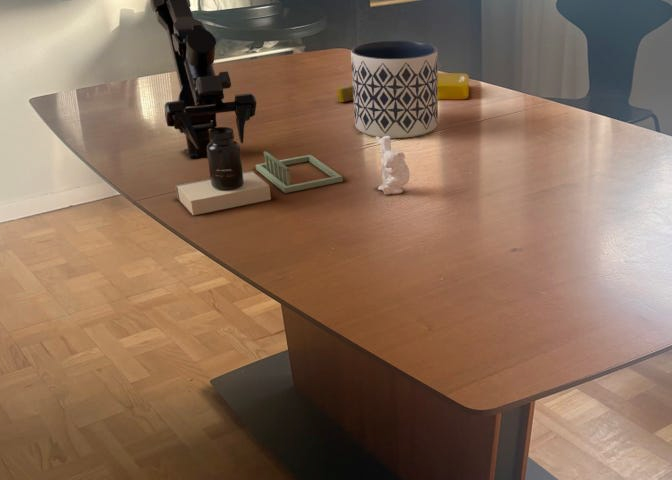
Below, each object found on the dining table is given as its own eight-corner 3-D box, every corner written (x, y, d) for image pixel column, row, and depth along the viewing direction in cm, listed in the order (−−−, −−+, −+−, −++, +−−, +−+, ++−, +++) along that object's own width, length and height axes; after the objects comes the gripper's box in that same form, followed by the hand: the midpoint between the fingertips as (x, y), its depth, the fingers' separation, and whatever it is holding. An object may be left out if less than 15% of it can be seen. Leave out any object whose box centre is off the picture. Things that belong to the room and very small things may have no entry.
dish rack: (255, 169, 196) (253, 150, 194) (310, 159, 202) (309, 140, 200) (284, 193, 183) (282, 173, 181) (342, 181, 189) (341, 161, 187)
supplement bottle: (222, 193, 174) (213, 137, 168) (205, 185, 178) (197, 129, 172) (250, 185, 178) (243, 130, 172) (234, 177, 182) (226, 123, 176)
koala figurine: (368, 189, 185) (365, 136, 179) (393, 183, 188) (391, 130, 182) (390, 200, 179) (388, 146, 173) (415, 193, 183) (414, 140, 176)
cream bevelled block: (177, 199, 180) (174, 185, 178) (254, 184, 188) (252, 170, 186) (192, 215, 172) (189, 201, 170) (271, 199, 180) (270, 185, 178)
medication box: (368, 95, 253) (367, 81, 252) (374, 95, 252) (373, 82, 250) (337, 101, 246) (335, 87, 244) (343, 102, 244) (341, 88, 242)
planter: (340, 133, 220) (334, 54, 209) (377, 111, 238) (374, 37, 227) (417, 143, 213) (416, 62, 202) (450, 120, 230) (450, 44, 220)
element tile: (468, 99, 248) (468, 83, 246) (418, 99, 248) (418, 83, 246) (468, 87, 261) (468, 71, 259) (420, 87, 261) (420, 71, 259)
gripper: (157, 62, 168) (175, 131, 165) (248, 54, 175) (267, 120, 172) (158, 92, 178) (175, 158, 176) (245, 83, 185) (262, 146, 182)
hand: (220, 145), depth 176 cm, fingers open, 9 cm apart
